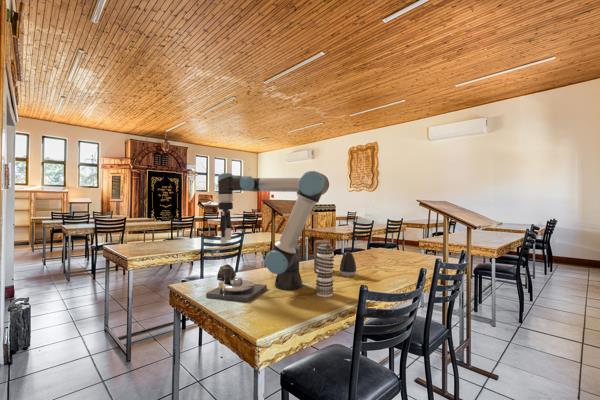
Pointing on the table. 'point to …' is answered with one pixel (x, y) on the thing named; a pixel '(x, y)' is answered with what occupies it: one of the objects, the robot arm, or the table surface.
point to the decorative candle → (324, 270)
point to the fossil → (221, 272)
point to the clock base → (236, 293)
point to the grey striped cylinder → (317, 249)
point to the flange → (235, 283)
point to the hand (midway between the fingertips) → (226, 241)
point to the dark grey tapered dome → (348, 264)
